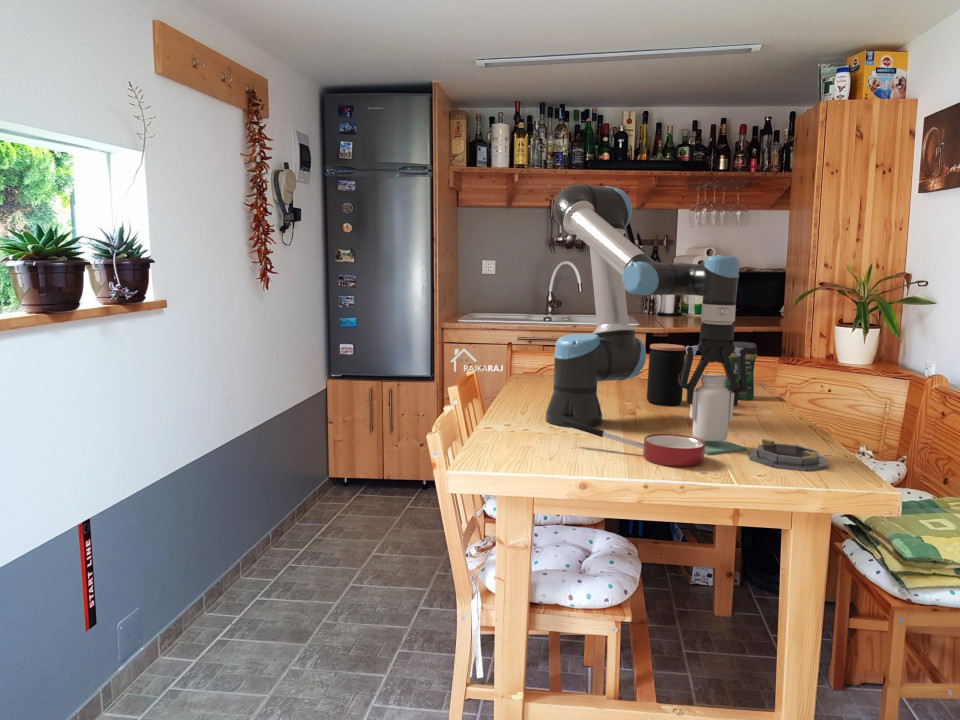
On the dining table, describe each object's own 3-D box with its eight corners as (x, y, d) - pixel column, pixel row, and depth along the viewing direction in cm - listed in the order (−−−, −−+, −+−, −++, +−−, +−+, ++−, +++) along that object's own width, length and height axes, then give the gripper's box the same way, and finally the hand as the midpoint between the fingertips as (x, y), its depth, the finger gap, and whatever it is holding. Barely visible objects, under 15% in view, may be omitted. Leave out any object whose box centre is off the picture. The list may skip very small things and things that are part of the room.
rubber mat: (707, 454, 167) (707, 452, 167) (672, 442, 178) (672, 440, 178) (746, 450, 173) (746, 447, 172) (709, 438, 183) (710, 436, 183)
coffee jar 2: (723, 399, 238) (728, 342, 235) (721, 395, 246) (725, 339, 243) (755, 401, 236) (759, 343, 233) (752, 397, 243) (756, 341, 241)
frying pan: (553, 454, 165) (554, 426, 164) (566, 441, 177) (567, 415, 176) (702, 471, 154) (704, 441, 153) (705, 456, 166) (707, 428, 165)
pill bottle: (684, 434, 177) (689, 373, 175) (711, 432, 180) (716, 372, 178) (706, 442, 170) (711, 378, 168) (734, 440, 173) (739, 377, 171)
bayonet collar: (791, 473, 154) (792, 458, 153) (733, 454, 168) (734, 440, 168) (842, 465, 161) (844, 451, 161) (783, 448, 175) (785, 435, 175)
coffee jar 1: (683, 407, 222) (687, 348, 220) (647, 405, 224) (651, 346, 222) (679, 401, 233) (683, 344, 230) (645, 399, 234) (648, 343, 232)
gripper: (675, 322, 168) (669, 419, 171) (768, 325, 167) (760, 423, 170) (669, 319, 176) (663, 413, 179) (758, 322, 174) (750, 416, 177)
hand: (710, 418), depth 174 cm, fingers closed on pill bottle, 8 cm apart
